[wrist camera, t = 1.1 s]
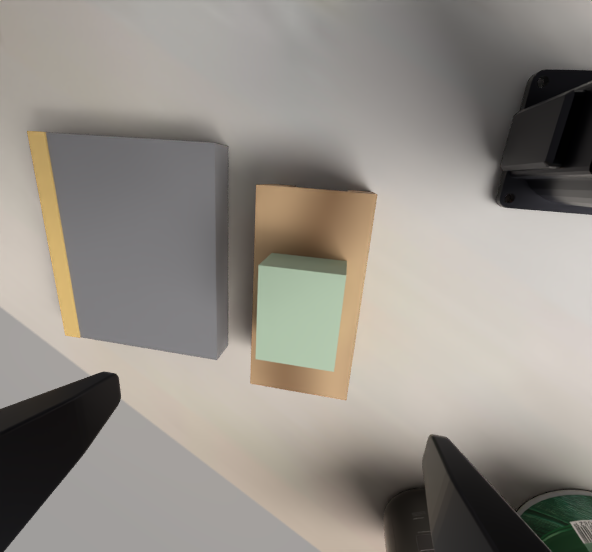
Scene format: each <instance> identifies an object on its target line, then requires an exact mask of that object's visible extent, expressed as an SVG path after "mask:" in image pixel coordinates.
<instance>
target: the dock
mask: <svg viewBox="0 0 592 552" xmlns="http://www.w3.org/2000/svg"><path fill="white" fill-rule="evenodd" d="M27 134H28V139H29V144H30V150H31V155H32V160H33V166H34V171H35V176H36V182H37V187H38V192H39V198H40V203H41V208H42V214H43V219H44V224H45V230H46V235H47V240H48V246H49V251H50V256H51V262H52V267H53V272H54V278H55V283H56V288H57V294H58V299H59V304H60V310H61V315H62V320H63V326H64V331H65V335H66V336H72V337H78V338H80V337H83V338H89V339H95V340H101V341H106V342H112V343H118V344H124V345H130V346H136V347H142V348H148V349H154V350H160V351H166V352H172V353H178V354H184V355H190V356H196V357H202V358H208V359H214V360H217V359H218V358H219V357H220V355H221V354H222V353H223V351H224V350H225V349H226V347H227V346H228V146H224V145H221V144H218V143H213V142H196V141H180V140H164V139H148V138H131V137H115V136H99V135H83V134H66V133H50V132H36V131H27Z"/></svg>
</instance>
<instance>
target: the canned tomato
mask: <svg viewBox="0 0 592 552" xmlns="http://www.w3.org/2000/svg"><path fill="white" fill-rule="evenodd" d="M516 513H517V514H518V515H519V516H520V517H521V518H522V519H523V521H524V522H525V523H526V524H527V525H528V526H529V527H530V528H531V529H532V530H533V531H534V533H535V534H536V535H537V536H538V537H539V538H540V539H541V540H542V541H543V542H544V543H545V545H546V546H547V547H548V548H549V549H550V550H551V551H552V552H592V492H590V491H585V490H559V491H553V492H548V493H545V494H542V495H539V496H537V497H535V498H533V499H531V500H529V501H528V502H526V503H525V504H524V505H523V506H521V508H520V509H519V510H518V511H517V512H516Z"/></svg>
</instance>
